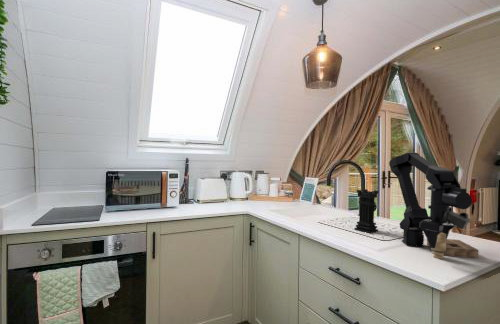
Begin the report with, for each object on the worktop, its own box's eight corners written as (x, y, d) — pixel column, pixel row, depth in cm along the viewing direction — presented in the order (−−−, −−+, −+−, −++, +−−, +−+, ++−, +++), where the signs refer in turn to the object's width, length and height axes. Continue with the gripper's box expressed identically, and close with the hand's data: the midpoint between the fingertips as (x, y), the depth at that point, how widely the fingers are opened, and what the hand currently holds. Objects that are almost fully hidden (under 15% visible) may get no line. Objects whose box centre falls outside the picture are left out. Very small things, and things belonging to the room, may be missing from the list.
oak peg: (434, 259, 96) (435, 234, 96) (428, 254, 101) (429, 231, 101) (448, 260, 96) (449, 235, 95) (441, 255, 100) (442, 232, 100)
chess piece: (369, 233, 127) (370, 192, 127) (354, 229, 134) (355, 190, 133) (378, 231, 132) (379, 190, 131) (363, 227, 138) (364, 189, 138)
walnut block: (442, 255, 101) (442, 247, 101) (426, 244, 113) (427, 237, 113) (478, 257, 99) (478, 249, 99) (458, 246, 111) (458, 239, 111)
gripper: (457, 210, 86) (455, 258, 86) (476, 204, 97) (474, 247, 97) (419, 204, 95) (417, 247, 95) (440, 200, 106) (438, 239, 106)
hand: (438, 245), depth 98 cm, fingers open, 9 cm apart
